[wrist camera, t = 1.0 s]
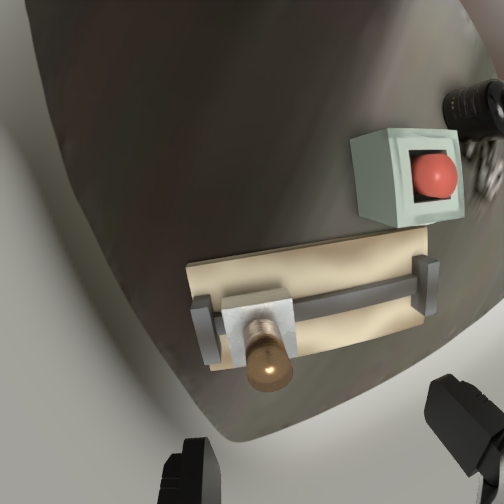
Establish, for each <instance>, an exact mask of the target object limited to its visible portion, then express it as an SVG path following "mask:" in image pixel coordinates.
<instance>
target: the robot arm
mask: <svg viewBox="0 0 504 504" xmlns="http://www.w3.org/2000/svg"><path fill="white" fill-rule="evenodd" d="M424 416H425V420H426V422H427V424H428V425H429V426H430V428H431V429H432V430H433V431H434V433H435V434H436V435H437V437H438V438H439V439H440V441H441V442H442V443H443V444H444V446H445V447H446V448H447V450H448V451H449V452H450V453H451V455H452V456H453V457H454V459H455V460H456V461H457V463H458V464H459V465H460V467H461V468H462V469H463V470H464V472H465V473H466V475H467V476H468V477H470V476H472V475H474V474H475V473H477V472H478V471H479V472H480V474H481V476H480V478H479V485H478V493H477V500H476V504H504V413H503V412H502V411H501V410H500V409H499V408H498V407H497V406H496V405H495V404H494V403H493V402H492V401H490V400H488V398H487V397H486V396H485V395H484V394H483V395H482V392H481V391H479V390H478V389H477V388H476V387H475V386H474V385H472V384H469V383H467V382H464V381H461V382H459V381H458V380H457V379H456V378H455V377H454V376H453V375H452V374H446V375H444V376H442V377H440V378H438V379H435V380H433V381H432V382H431V383H430V386H429V391H428V396H427V401H426V405H425V409H424ZM157 504H221V473H220V468H219V464H218V461H217V459H216V456H215V454H214V451H213V449H212V446H211V444H210V441H209V439H208V438H207V437H203V438H188V439H185V440H184V444H183V451H182V453H178V454H177V453H176V454H172V455H171V456H170V457H169V458H168V460H167V461H166V463H165V464H164V468H163V473H162V480H161V484H160V490H159V496H158V502H157Z"/></svg>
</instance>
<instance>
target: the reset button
mask: <svg viewBox="0 0 504 504" xmlns="http://www.w3.org/2000/svg"><path fill="white" fill-rule="evenodd" d="M409 158H410V166H411V175H412V185H413V194H414V195H422V196H430V197H437V198H447V197H449V196H451V195H452V194H453V192H454V191H455V189H456V186H457V181H458V175H457V169H456V166H455V164H454V162H453V161H452V160H451V158H450V157H448V156H447V155H445V154H426V155H414V156H410V157H409Z"/></svg>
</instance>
